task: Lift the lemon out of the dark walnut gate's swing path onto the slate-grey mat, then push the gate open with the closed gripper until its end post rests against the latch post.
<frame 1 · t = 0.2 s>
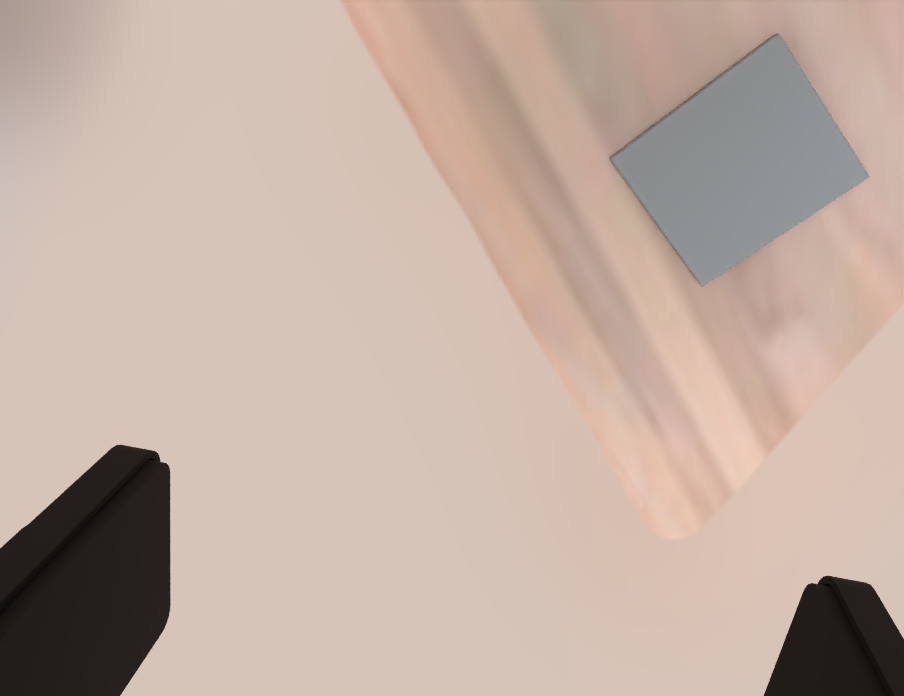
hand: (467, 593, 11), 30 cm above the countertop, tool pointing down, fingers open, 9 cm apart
mat: (735, 166, 38), on the countertop
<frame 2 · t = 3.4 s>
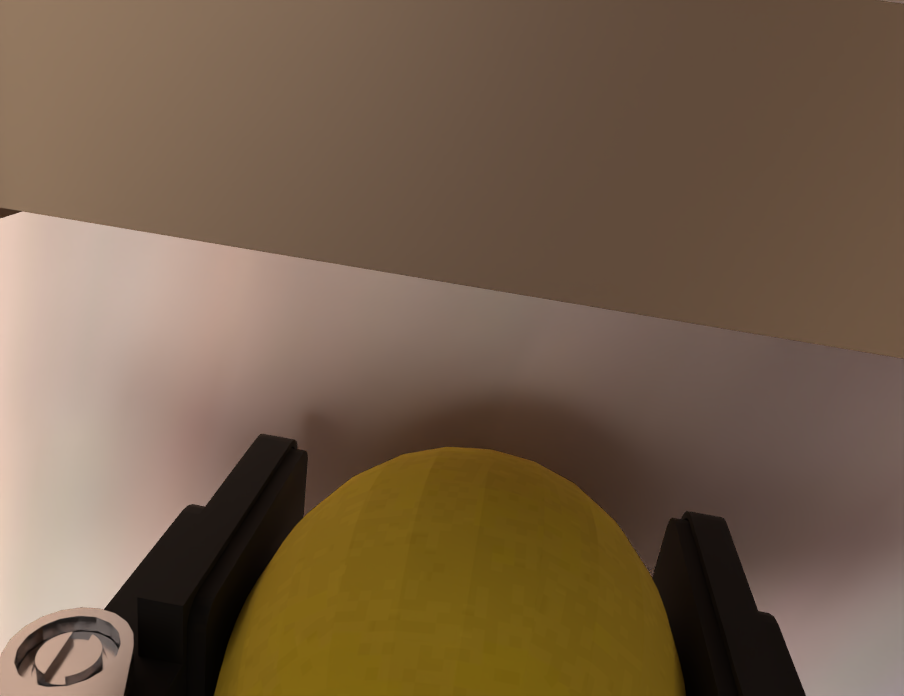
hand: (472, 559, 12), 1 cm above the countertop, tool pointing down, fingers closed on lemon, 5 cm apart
lemon: (481, 505, 13), on the countertop, touching gripper
gate: (625, 114, 7), point 4 cm above the countertop, hinge at 0.0°
when the fingers open (3 cm above the countertop, at t = 8.9 s): lemon drops 1 cm, resting on mat.
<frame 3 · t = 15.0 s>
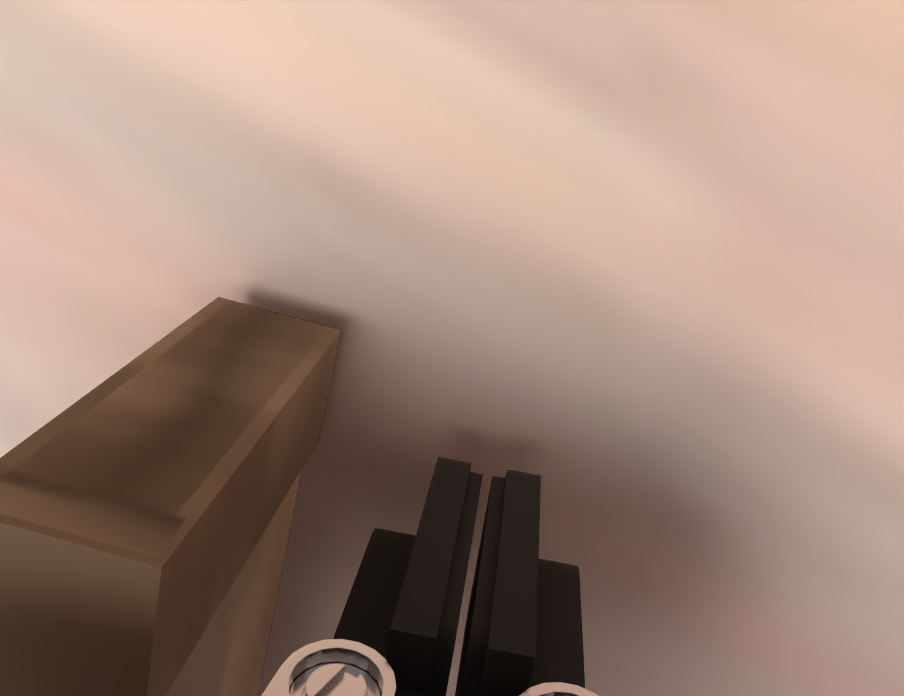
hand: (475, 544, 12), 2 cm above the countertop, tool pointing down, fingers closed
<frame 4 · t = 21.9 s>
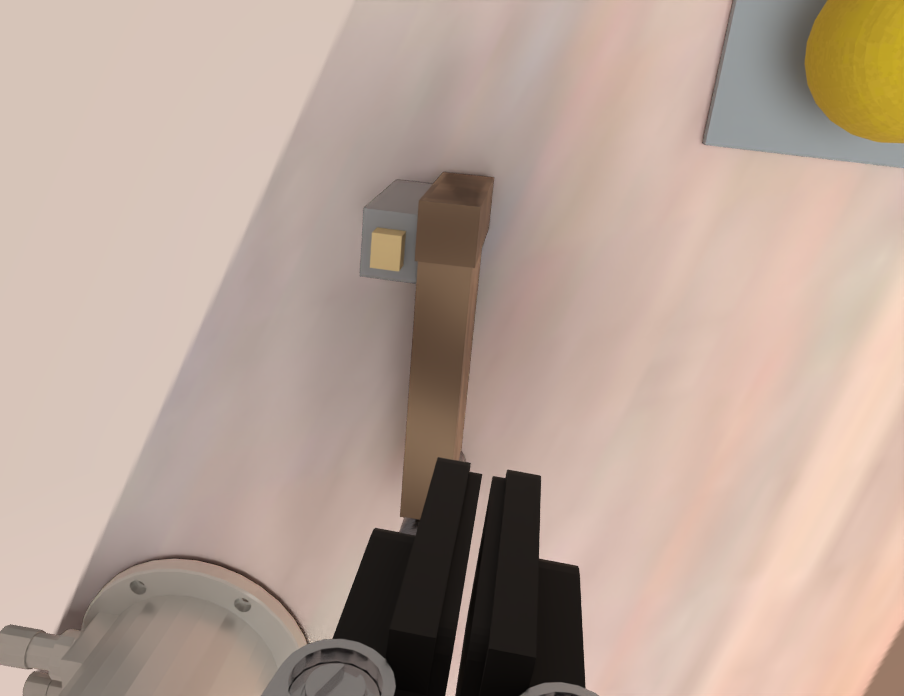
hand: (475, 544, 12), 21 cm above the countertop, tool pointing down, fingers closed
lemon: (858, 48, 28), resting on mat
latch post: (418, 211, 32), on the countertop
gate: (446, 344, 30), point 4 cm above the countertop, hinge at 90.9°, touching latch post
mat: (853, 44, 28), on the countertop
gatepost: (444, 461, 36), on the countertop
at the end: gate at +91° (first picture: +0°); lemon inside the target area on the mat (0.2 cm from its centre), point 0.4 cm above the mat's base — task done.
